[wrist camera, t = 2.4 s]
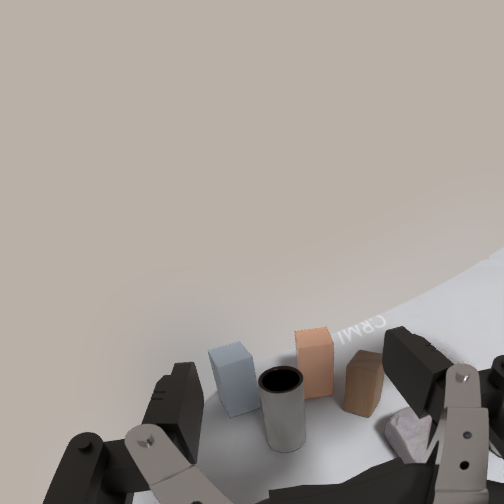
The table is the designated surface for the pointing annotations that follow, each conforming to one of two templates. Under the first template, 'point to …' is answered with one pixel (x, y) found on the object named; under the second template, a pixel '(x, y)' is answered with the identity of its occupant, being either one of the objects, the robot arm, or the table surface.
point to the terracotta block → (315, 361)
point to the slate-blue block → (235, 378)
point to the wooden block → (363, 383)
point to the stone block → (407, 435)
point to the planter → (283, 407)
